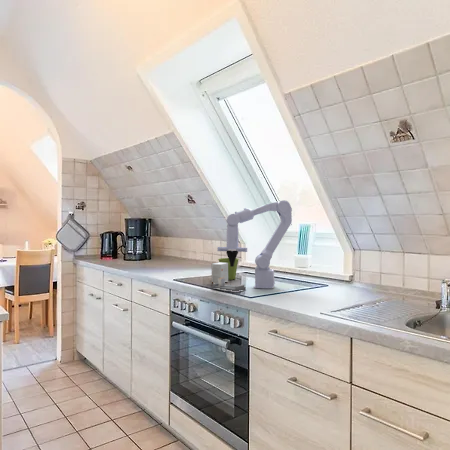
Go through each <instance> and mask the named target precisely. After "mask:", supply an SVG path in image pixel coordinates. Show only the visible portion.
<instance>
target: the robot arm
mask: <svg viewBox="0 0 450 450" xmlns="http://www.w3.org/2000/svg"><path fill="white" fill-rule="evenodd" d="M269 211H271V212H276V213H277V215H278V216H279V221H280V222H279V223H278V225H277V227H276V228H275V229H274V232H273V234H272V235H271V237H270V238H269V241H268V242H267V243H266V245H265V247H264V248H263V250H262V251H261V252H260V253H259V254H258V255H257V256H256V257H255V260H254V263H255V265H256V266H255V267H254V280H255V281H254V286H253V287H252V288H253V289H274V287H275V269H271V267H270V263H271V259H272V257H273V254H274V253H275V251H276V250H277V247H278V245H279V244H280V243H281V241H282V239H283V238H284V236H285V234H286V233H287V231H288V229H289V227H290V226H291V225H292V220H293V219H292V217H293V216H292V211H293V208H292V206H291V203H290V202H289V201H288V200H278V201H273V202H269V203H266V204H264V205H261V206H258V207H256V208H254V209H251V208H249V207H248V208H247V207H244V208H243V209H242V210H240V211H235V212H234V213H230V214H229V215H227V217H226V223H227V225H226V246H217V252H226V255H227V258H229V261H230V266H231V267H233V266H234V263H235V259H236V258H238V257H237V256H238V254H239V253H247V252H248V247H242V246H241V247H239V224H243V223H245V222H248V221H251V220H253V219H254V217H255V216H257V215H261V214H263V213H266V212H269Z"/></svg>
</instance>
